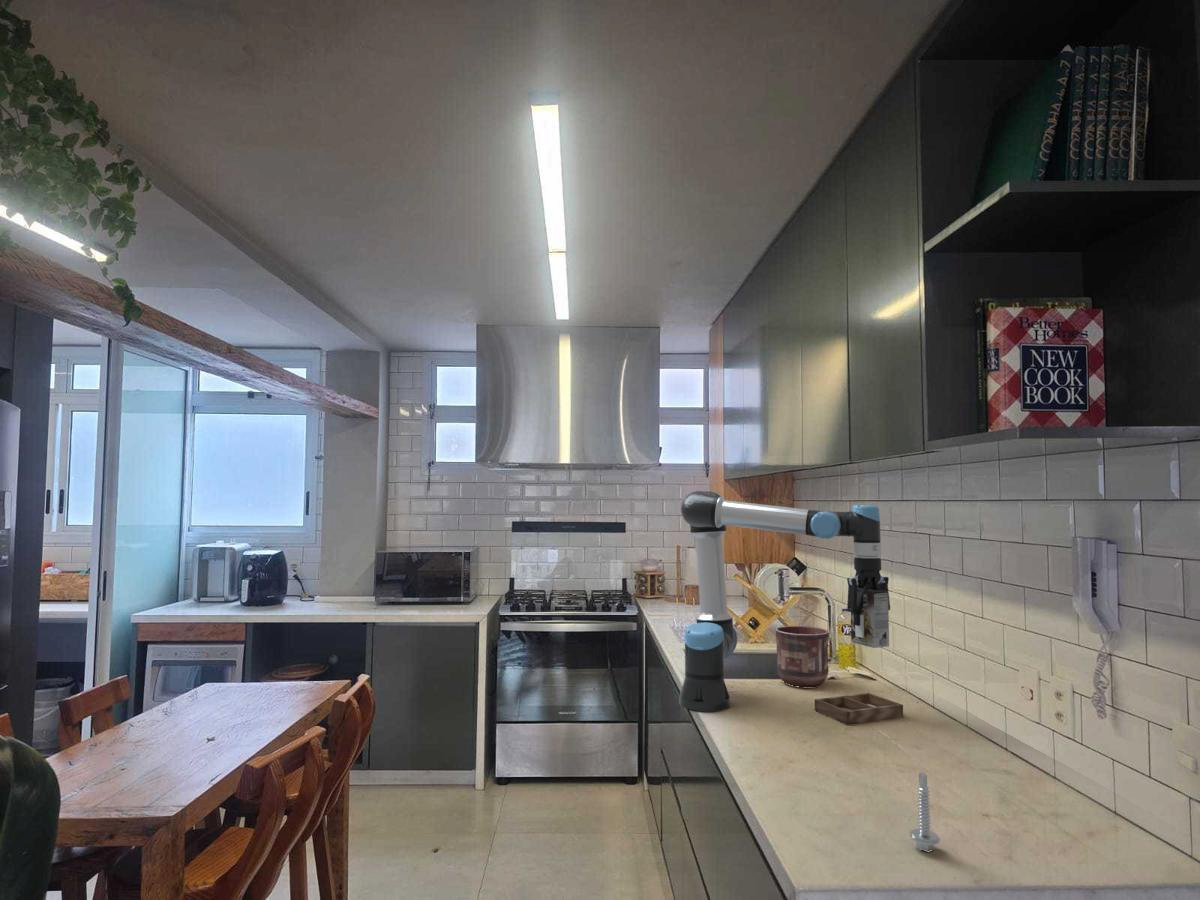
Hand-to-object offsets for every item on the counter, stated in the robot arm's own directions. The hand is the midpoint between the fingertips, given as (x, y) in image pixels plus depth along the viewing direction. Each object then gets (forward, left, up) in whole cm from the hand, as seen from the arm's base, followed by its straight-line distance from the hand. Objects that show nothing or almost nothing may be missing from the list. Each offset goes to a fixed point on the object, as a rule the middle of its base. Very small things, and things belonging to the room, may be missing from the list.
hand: (869, 635), depth 201 cm
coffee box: (0, 0, -3) cm, 3 cm away
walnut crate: (-5, 0, -22) cm, 23 cm away
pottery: (+2, +34, -22) cm, 41 cm away
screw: (-50, -66, -22) cm, 86 cm away
